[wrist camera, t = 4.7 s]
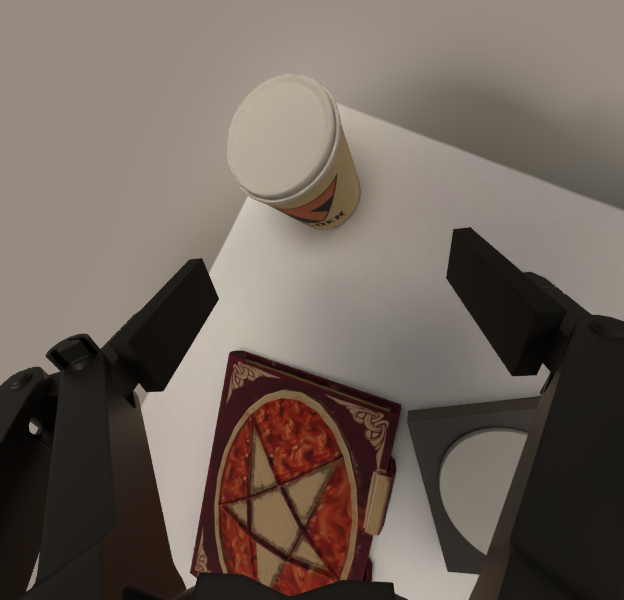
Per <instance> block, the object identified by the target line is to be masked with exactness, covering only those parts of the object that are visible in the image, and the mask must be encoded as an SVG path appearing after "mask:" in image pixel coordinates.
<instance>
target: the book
mask: <svg viewBox="0 0 624 600" xmlns="http://www.w3.org/2000/svg"><path fill="white" fill-rule="evenodd" d="M401 407H402V405H401V404H398V403H395V402H392V401H389V400H386V399H383V398H380V397H377V396H374V395H371V394H368V393H365V392H362V391H359V390H356V389H354V388H351V387H348V386H345V385H342V384H339V383H336V382H333V381H330V380H327V379H324V378H321V377H318V376H315V375H312V374H310V373H307V372H304V371H301V370H298V369H295V368H292V367H289V366H286V365H283V364H280V363H277V362H274V361H271V360H268V359H265V358H263V357H260V356H257V355H254V354H251V353H248V352H245V351H232V352H230V353H229V358H228V363H227V369H226V375H225V380H224V386H223V391H222V397H221V402H220V408H219V414H218V419H217V425H216V430H215V436H214V442H213V447H212V453H211V458H210V464H209V470H208V475H207V481H206V486H205V492H204V498H203V503H202V509H201V514H200V520H199V526H198V531H197V537H196V542H195V548H194V554H193V559H192V565H191V570H190V573H191V574H192V575H193V576H195V577H196V578H198V574H199V572H211V573H229V574H244V575H246V576H248V577H250V578H252V579H254V580H256V581H258V582H260V583H262V584H264V585H266V586H268V587H270V588H272V589H274V590H276V591H279V592H281V593H283V594H285V595H288V596H293V595H297V594H300V593H303V592H306V591H309V590H312V589H315V588H318V587H322V586H325V585H328V584H331V583H334V582H337V581H340V580H354V581H372V564H373V563H372V562H371V561H370V559H369V558H368V556H369V551H370V547H371V542H372V538H373V535H379V534H380V532H381V530H382V528H383V526H384V522H385V518H386V513H387V509H388V504H389V500H390V495H391V491H392V486H393V482H394V478H395V473H396V465H395V459H393V458H392V457H391V452H392V447H393V443H394V438H395V434H396V429H397V425H398V420H399V416H400V411H401Z"/></svg>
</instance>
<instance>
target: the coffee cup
mask: <svg viewBox="0 0 624 600" xmlns="http://www.w3.org/2000/svg"><path fill="white" fill-rule="evenodd" d="M227 158H228V163H229V167H230V169H231V172H232V174H233V177H234V179H235V181H236V183H237V184H238V186H239V187H240V188H241V189H242V190H243V191H244V192H245V193H246V194H247V195H248V196H250V197H251V198H253V199H255V200H257V201H259V202H262V203H265V204H267V205H269V206H271V207H273V208H275V209H277V210H279V211H281V212H283V213H285V214H286V215H288V216H290V217H292V218H294V219H296V220H298V221H300V222H302V223H304V224H306V225H309V226H311V227H313V228H317V229H330V228H334V227H336V226H338V225H340V224H342V223H343V222H345V221H346V220H347V219H348V218H349V217H350V216H351V215H352V213H353V212H354V210H355V208H356V206H357V204H358V201H359V197H360V184H359V180H358V176H357V172H356V169H355V166H354V163H353V160H352V157H351V153H350V150H349V147H348V144H347V141H346V138H345V135H344V132H343V129H342V126H341V121H340V116H339V112H338V109H337V106H336V103H335V101H334V99H333V98H332V96H331V95H330V93H329V92H328V91H327V90H326V89H325V88H324V87H323V86H322V85H321V84H319V83H318V82H316V81H314V80H312V79H311V78H308V77H306V76H303V75H299V74H284V75H279V76H276V77H273V78H270V79H269V80H267V81H265V82H263V83H262V84H260V85H259V86H257V87H256V88H255V89H254V90H253V91H252V92H251V93H250V94H249V95H248V96H247V97H246V98H245V99H244V100H243V102H242V103H241V105H240V107H239V108H238V110H237V111H236V113H235V115H234V117H233V120H232V122H231V126H230V129H229V133H228V138H227Z"/></svg>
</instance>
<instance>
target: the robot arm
mask: <svg viewBox="0 0 624 600" xmlns="http://www.w3.org/2000/svg"><path fill="white" fill-rule="evenodd" d="M446 279H447V280H448V282H449V283H450V285H451V286H452V287H453V289H454V290H455V292H456V293H457V295H458V296H459V298H460V299H461V301H462V302H463V304H464V305H465V307H466V308H467V310H468V311H469V313H470V314H471V316H472V317H473V319H474V320H475V322H476V323H477V325H478V326H479V328H480V329H481V331H482V332H483V334H484V335H485V337H486V338H487V340H488V341H489V343H490V344H491V346H492V347H493V349H494V350H495V352H496V353H497V355H498V356H499V358H500V359H501V361H502V362H503V364H504V365H505V366H506V368H507V369H508V371H509V372H510V374H511V375H512V376H529V375H537V373H538V371H539V369H540V367H541V365H542V363H544V365H545V366H546V367H547V368H548V370H549V371H550V374H549V376H548V378H547V380H546V382H545V384H544V386H543V388H542V390H541V392H540V394H542V395H541V398H540V401H539V404H538V407H537V410H536V412H535V415H534V418H533V421H532V424H531V427H530V430H529V433H528V436H527V439H526V441H525V444H524V447H523V450H522V453H521V456H520V459H519V462H518V465H517V468H516V470H515V473H514V476H513V479H512V482H511V485H510V488H509V491H508V494H507V497H506V499H505V502H504V505H503V508H502V511H501V514H500V517H499V520H498V523H497V526H496V529H495V531H494V534H493V537H492V540H491V543H490V546H489V549H488V552H487V555H486V558H485V560H484V563H483V566H482V569H481V572H480V575H479V577H478V580H477V582H476V585H475V587H474V589H473V591H472V593H471V596H470V598H469V600H624V321H621V320H618V319H615V318H612V317H607V316H601V315H591V314H590V313H589V312H587V311H586V310H585V309H584V308H582V307H581V306H580V305H579V304H577V303H576V302H575V301H574V300H572V299H571V298H570V297H569V296H567V295H566V294H563V292H562V291H561V290H560V289H558V288H557V287H556V288H555V285H553V284H552V283H551V282H550V281H548V280H547V279H546V278H544V277H542V276H539V275H537V274H535V273H532V272H524V273H523V272H522V271H521V270H519V269H518V268H517V267H516V266H515V265H514V264H512V263H511V262H510V261H509V260H508V259H507V258H505V257H504V256H503V255H502V254H501V253H500V252H498V251H497V250H496V249H495V248H494V247H493V246H491V245H490V244H489V243H488V242H487V241H486V240H484V239H483V238H482V237H481V236H480V235H479V234H477V233H476V232H475V231H474V230H473V229H472V228H470V227H469V228H460V229H453V236H452V242H451V249H450V256H449V263H448V269H447V276H446ZM218 300H219V298H218V295H217V293H216V291H215V288H214V286H213V283H212V281H211V279H210V276H209V274H208V272H207V269H206V267H205V264H204V262H203V260H202V258H201V259H191V260H189V261H187V263H186V264H185V265H184V266H183V267H182V268H181V269H180V270H179V271H178V272H177V273H176V274H175V275H174V276H173V277H172V278H171V279H170V280H169V281H168V282H167V283H166V285H165V286H164V287H163V288H162V289H161V290H160V291H159V292H158V293H157V294H156V295H155V296H154V297H153V298H152V299H151V300H150V301H149V302H148V303H147V304H146V305H145V306H144V307H143V308H142V309H141V310H140V311H139V312H138V313H136V314H135V315H133V316H132V318H130V319H129V320H128V322H127V324H125V325H124V326H123V327H122V328H121V330H119V331H118V332H117V333H116V334H115V335H114V336H113V337H112V338H111V339H110V340H109V341H108V342H107V343H106V344H105V345H104V346H103V347H102V348H101V349H100V348H99V347H98V346H97V345H96V344H95V342H94V341H93V340H92V339H91V337H90V336H89V335H88V334H78V335H75V336H71V337H69V338H67V339H65V340H63V341H61V342H59V343H58V344H56V345H55V346H54V347H52V348H51V349H50V350H49V351H48V352H47V354H46V357H47V358H48V359H49V360H50V361H51V362H52V363H53V364H54V365H55V366H56V367H57V368H58V369H59V370H60V371H61V372H58V373H54V374H51V375H48V374H47V373H46V372H45V371H44V370H43V369H42V368H41V367H32V368H28V369H26V370H23V371H20V372H18V373H16V374H14V375H12V376H11V377H10V378H9V379H8V380H6V381H5V382H4V383H3V384H2V385H1V386H0V600H408V599H406V598H404V597H401V596H399V595H397V594H395V593H394V585H393V583H390V582H372V581H354V580H340V581H337V582H334V583H331V584H328V585H325V586H322V587H318V588H315V589H312V590H309V591H306V592H303V593H300V594H297V595H293V596H288V595H285V594H283V593H281V592H279V591H276V590H274V589H272V588H270V587H268V586H266V585H264V584H262V583H260V582H258V581H256V580H254V579H252V578H250V577H248V576H246V575H244V574H229V573H211V572H199V574H198V578H197V581H196V585H195V586H193V587H191V588H189V589H187V590H186V587H185V584H184V582H183V580H182V578H181V576H180V574H179V573H178V571H177V569H176V567H175V565H174V563H173V559H172V555H171V550H170V546H169V541H168V536H167V531H166V527H165V522H164V517H163V512H162V507H161V503H160V498H159V493H158V488H157V484H156V479H155V474H154V469H153V464H152V460H151V455H150V450H149V445H148V440H147V436H146V431H145V426H144V421H143V417H142V412H141V407H140V402H139V398H138V395H137V394H136V392H135V391H134V389H135V388H136V386H137V385H138V383H140V385H141V386H142V387H143V388H144V390H145V391H146V392H161V391H164V389H165V388H166V386H167V384H168V383H169V381H170V379H171V378H172V376H173V374H174V373H175V371H176V369H177V368H178V366H179V364H180V363H181V361H182V360H183V358H184V356H185V355H186V353H187V351H188V350H189V348H190V346H191V345H192V343H193V341H194V340H195V338H196V336H197V335H198V333H199V331H200V330H201V328H202V326H203V325H204V323H205V321H206V320H207V318H208V316H209V315H210V313H211V311H212V310H213V308H214V306H215V305H216V303H217V302H218ZM30 422H32V423H33V424H34V425H35V426H37V427H38V430H37V432H36V434H35V435H34V434H32V433H30V431H29V423H30ZM39 552H40V555H39V564H38V571H37V577H36V581H35V584H34V585H33V587H32V588H31V589H30V590H28V591H27V592H26V590H27V587H28V584H29V581H30V578H31V575H32V572H33V569H34V566H35V563H36V561H37V557H38V554H39Z"/></svg>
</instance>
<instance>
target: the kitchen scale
mask: <svg viewBox="0 0 624 600" xmlns="http://www.w3.org/2000/svg"><path fill="white" fill-rule="evenodd" d="M540 398H541V396H540V397H530V398H521V399H512V400H503V401H494V402H485V403H476V404H467V405H458V406H449V407H440V408H431V409H422V410H413V411H408V419H407V422H408V426H409V429H410V433H411V437H412V441H413V444H414V448H415V452H416V456H417V459H418V463H419V467H420V470H421V474H422V478H423V482H424V485H425V489H426V493H427V497H428V500H429V504H430V508H431V511H432V515H433V519H434V523H435V526H436V530H437V534H438V537H439V541H440V545H441V549H442V552H443V556H444V560H445V564H446V567H447V571H448V572H458V573H469V574H480V572H481V569H482V566H483V563H484V560H485V558H486V555H487V552H488V549H489V546H490V543H491V540H492V537H493V534H494V531H495V529H496V526H497V523H498V520H499V517H500V514H501V511H502V508H503V505H504V502H505V499H506V497H507V494H508V491H509V488H510V485H511V482H512V479H513V476H514V473H515V470H516V468H517V465H518V462H519V459H520V456H521V453H522V450H523V447H524V444H525V441H526V439H527V436H528V433H529V430H530V427H531V424H532V421H533V418H534V415H535V412H536V410H537V407H538V404H539V401H540Z"/></svg>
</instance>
